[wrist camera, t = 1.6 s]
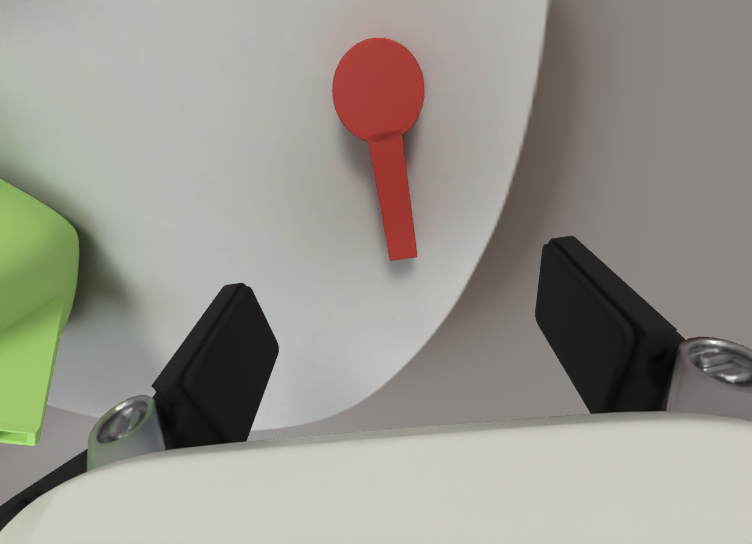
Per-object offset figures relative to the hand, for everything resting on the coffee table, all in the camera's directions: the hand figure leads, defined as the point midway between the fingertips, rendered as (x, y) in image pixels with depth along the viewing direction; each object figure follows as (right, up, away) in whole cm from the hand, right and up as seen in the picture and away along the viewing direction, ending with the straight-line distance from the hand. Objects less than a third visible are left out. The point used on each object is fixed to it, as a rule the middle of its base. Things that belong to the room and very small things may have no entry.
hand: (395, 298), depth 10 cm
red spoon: (0, +7, +7) cm, 10 cm away
